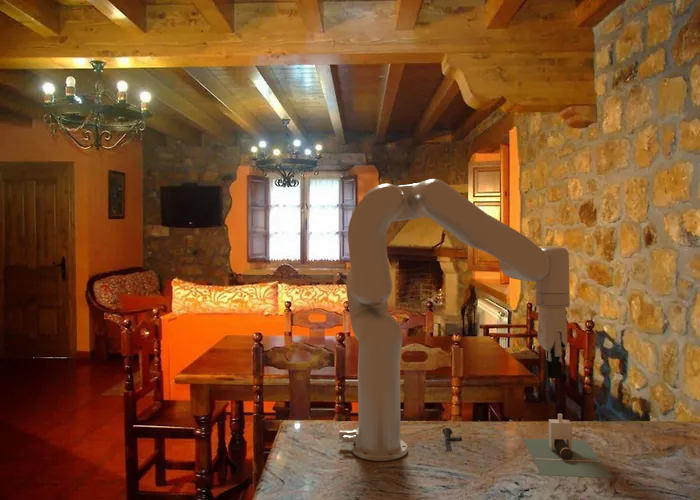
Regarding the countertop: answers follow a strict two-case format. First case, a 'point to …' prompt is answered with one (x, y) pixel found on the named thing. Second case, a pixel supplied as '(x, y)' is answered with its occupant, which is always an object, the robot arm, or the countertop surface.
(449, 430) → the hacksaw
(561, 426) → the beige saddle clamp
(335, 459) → the countertop surface
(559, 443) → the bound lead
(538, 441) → the cutting mat
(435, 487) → the countertop surface
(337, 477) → the countertop surface
